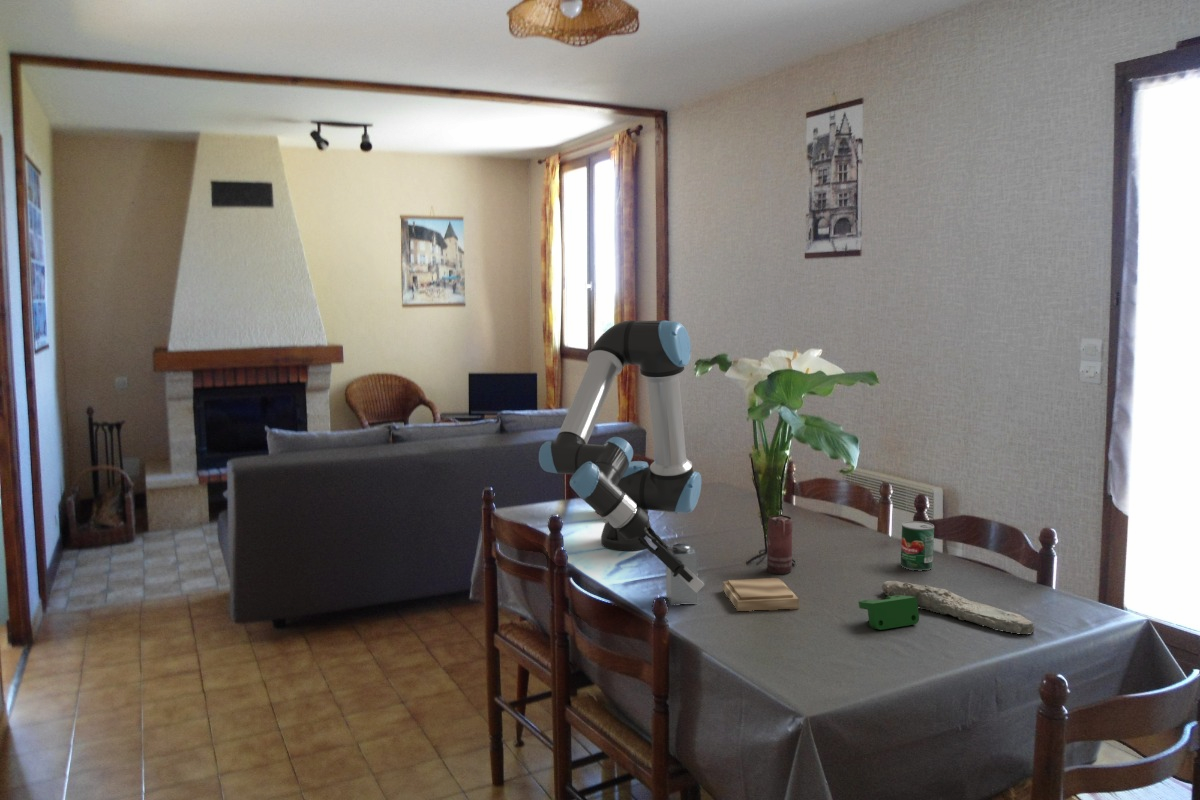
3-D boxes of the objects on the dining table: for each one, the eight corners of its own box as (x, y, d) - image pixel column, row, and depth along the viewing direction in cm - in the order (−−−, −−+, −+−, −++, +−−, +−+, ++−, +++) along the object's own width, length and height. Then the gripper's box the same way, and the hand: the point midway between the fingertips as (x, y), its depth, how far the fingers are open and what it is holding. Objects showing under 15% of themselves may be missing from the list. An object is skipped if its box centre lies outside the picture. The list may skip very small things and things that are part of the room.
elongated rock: (1019, 648, 183) (1041, 638, 189) (1022, 623, 182) (1044, 614, 188) (870, 595, 209) (894, 588, 216) (873, 573, 209) (897, 567, 215)
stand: (722, 591, 214) (722, 579, 214) (779, 588, 216) (780, 576, 215) (737, 612, 200) (737, 599, 200) (798, 609, 202) (798, 596, 201)
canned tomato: (897, 568, 230) (899, 526, 229) (903, 560, 237) (904, 519, 236) (930, 572, 226) (932, 530, 225) (934, 564, 233) (936, 523, 232)
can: (774, 575, 225) (775, 521, 223) (763, 568, 231) (763, 515, 229) (796, 573, 227) (797, 519, 225) (784, 566, 233) (785, 513, 231)
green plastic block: (896, 638, 196) (905, 597, 198) (914, 641, 190) (923, 599, 193) (851, 622, 193) (860, 581, 195) (867, 625, 187) (877, 583, 189)
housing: (666, 596, 211) (666, 542, 209) (691, 595, 211) (691, 541, 210) (671, 605, 205) (671, 550, 203) (696, 604, 205) (697, 549, 204)
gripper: (610, 518, 214) (677, 581, 217) (620, 540, 195) (694, 609, 199) (632, 496, 214) (699, 559, 217) (644, 516, 195) (717, 585, 199)
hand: (696, 583), depth 208 cm, fingers closed on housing, 6 cm apart
